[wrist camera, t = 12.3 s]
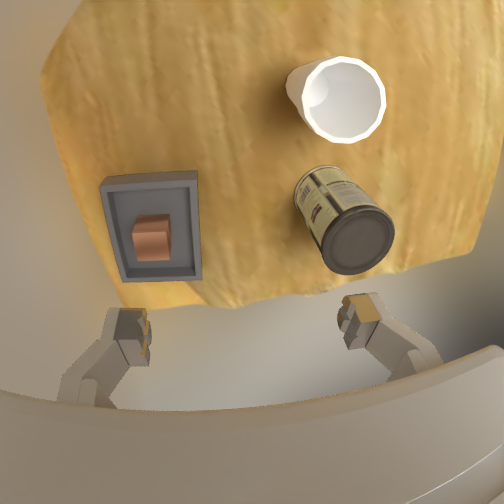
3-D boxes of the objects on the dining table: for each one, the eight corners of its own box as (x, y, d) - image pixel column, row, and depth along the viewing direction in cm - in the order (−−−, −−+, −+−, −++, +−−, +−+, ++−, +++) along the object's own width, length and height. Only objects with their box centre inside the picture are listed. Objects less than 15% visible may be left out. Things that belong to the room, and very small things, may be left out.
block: (138, 215, 43) (131, 233, 40) (169, 213, 44) (166, 231, 40) (142, 241, 46) (137, 261, 42) (172, 240, 47) (169, 259, 43)
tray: (106, 176, 40) (99, 186, 37) (197, 170, 42) (196, 179, 39) (126, 269, 51) (122, 282, 48) (202, 266, 52) (202, 280, 50)
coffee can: (350, 216, 50) (387, 268, 39) (294, 224, 50) (320, 281, 39) (355, 162, 44) (401, 204, 33) (292, 167, 43) (324, 214, 32)
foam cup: (260, 78, 35) (282, 88, 24) (314, 43, 32) (356, 40, 22) (300, 129, 40) (334, 160, 30) (349, 95, 37) (398, 115, 27)
